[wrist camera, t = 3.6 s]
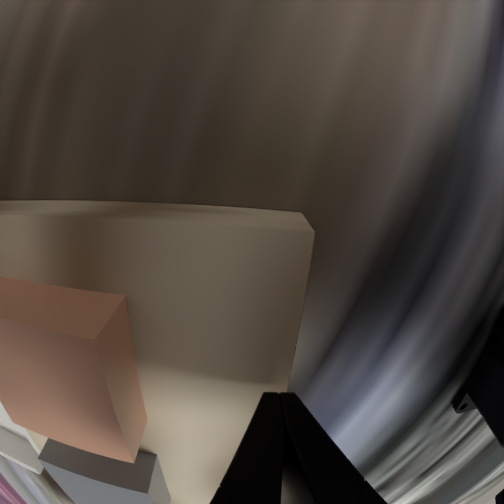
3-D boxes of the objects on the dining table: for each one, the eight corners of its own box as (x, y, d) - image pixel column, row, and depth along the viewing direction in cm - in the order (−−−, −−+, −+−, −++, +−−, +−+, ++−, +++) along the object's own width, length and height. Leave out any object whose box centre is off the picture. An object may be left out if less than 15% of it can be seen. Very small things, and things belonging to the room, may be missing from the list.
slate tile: (157, 454, 10) (147, 493, 8) (171, 498, 12) (166, 528, 10) (53, 427, 10) (37, 458, 8) (85, 477, 12) (75, 504, 10)
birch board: (301, 212, 9) (315, 232, 7) (254, 487, 14) (255, 514, 12) (-18, 201, 8) (-52, 214, 6) (68, 453, 14) (58, 475, 12)
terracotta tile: (125, 295, 7) (94, 339, 6) (147, 419, 9) (134, 463, 7) (-5, 275, 7) (-43, 303, 5) (34, 389, 9) (12, 422, 7)
